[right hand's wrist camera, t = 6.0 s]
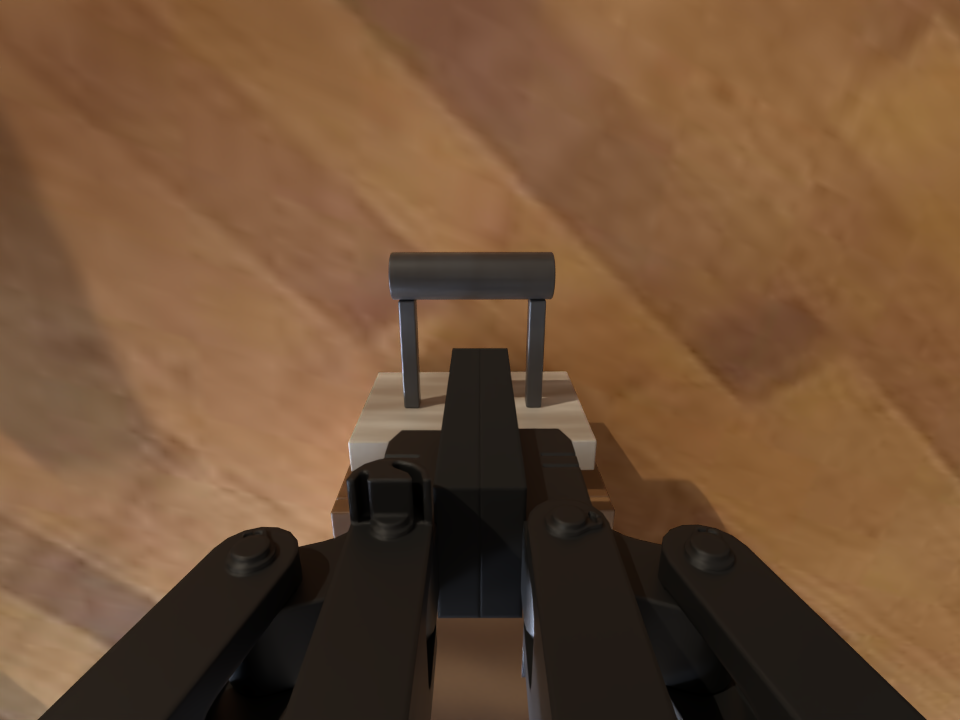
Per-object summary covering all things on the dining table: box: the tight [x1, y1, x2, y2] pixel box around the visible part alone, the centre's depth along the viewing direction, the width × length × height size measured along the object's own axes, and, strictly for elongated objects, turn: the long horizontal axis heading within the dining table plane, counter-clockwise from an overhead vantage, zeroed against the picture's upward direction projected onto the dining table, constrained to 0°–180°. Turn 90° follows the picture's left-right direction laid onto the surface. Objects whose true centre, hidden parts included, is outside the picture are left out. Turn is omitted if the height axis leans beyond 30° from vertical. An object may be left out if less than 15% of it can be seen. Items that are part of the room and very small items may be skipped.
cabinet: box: [331, 462, 615, 720], centre depth 26 cm, size 20×10×8 cm, turn 0°
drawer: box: [348, 252, 597, 471], centre depth 24 cm, size 25×8×6 cm, turn 0°
